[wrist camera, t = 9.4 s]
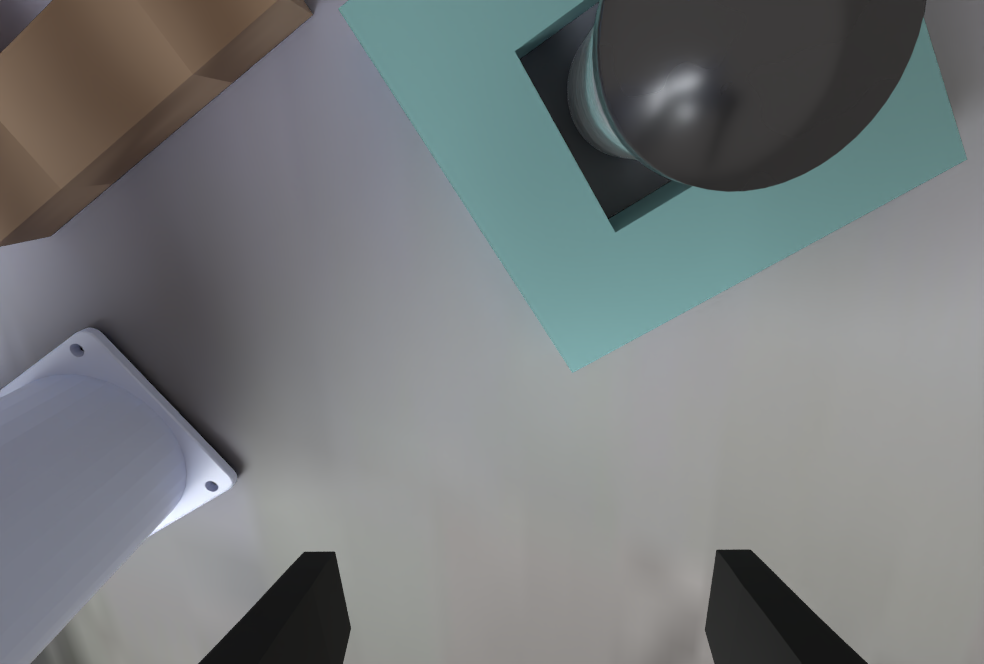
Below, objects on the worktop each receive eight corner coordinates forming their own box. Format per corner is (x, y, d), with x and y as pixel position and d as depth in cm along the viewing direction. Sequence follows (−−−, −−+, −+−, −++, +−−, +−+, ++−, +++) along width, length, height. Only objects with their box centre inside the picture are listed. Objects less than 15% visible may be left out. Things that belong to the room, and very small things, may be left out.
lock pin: (607, 197, 16) (689, 247, 8) (527, 66, 15) (540, -13, 7) (741, 106, 15) (973, 69, 7) (667, -44, 14) (854, -273, 6)
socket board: (566, 348, 18) (572, 372, 16) (361, 26, 14) (338, 8, 13) (911, 157, 15) (967, 159, 13) (756, -295, 12) (802, -379, 10)
